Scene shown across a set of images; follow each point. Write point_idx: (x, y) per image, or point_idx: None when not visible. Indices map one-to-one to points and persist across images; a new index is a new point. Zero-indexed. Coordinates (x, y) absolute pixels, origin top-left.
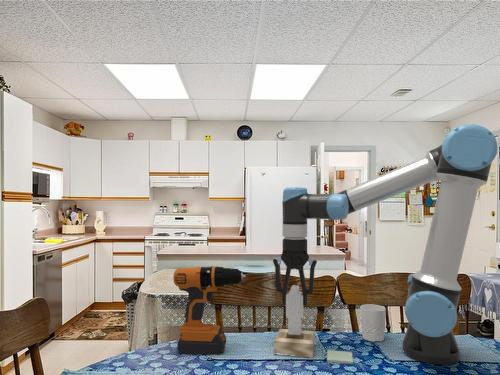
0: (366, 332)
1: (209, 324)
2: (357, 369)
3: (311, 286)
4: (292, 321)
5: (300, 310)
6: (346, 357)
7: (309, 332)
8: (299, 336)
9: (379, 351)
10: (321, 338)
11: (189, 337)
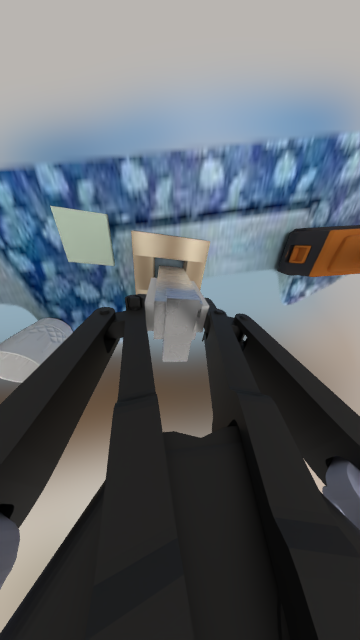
0: (55, 328)
1: (341, 264)
2: (34, 172)
3: (90, 324)
4: (177, 273)
5: (156, 283)
6: (70, 231)
7: None
8: None
9: (26, 280)
10: None
11: None
